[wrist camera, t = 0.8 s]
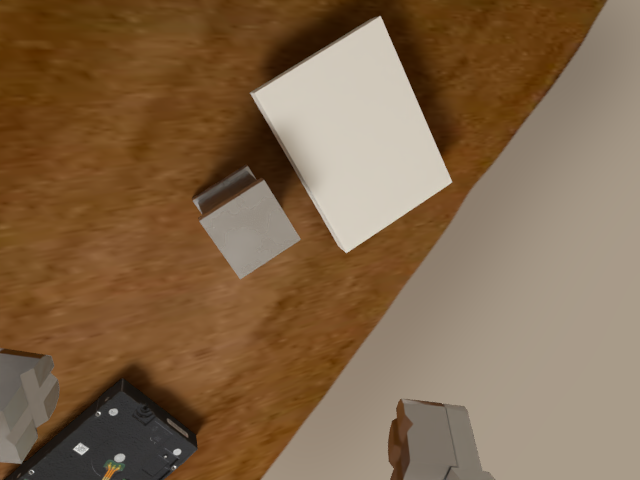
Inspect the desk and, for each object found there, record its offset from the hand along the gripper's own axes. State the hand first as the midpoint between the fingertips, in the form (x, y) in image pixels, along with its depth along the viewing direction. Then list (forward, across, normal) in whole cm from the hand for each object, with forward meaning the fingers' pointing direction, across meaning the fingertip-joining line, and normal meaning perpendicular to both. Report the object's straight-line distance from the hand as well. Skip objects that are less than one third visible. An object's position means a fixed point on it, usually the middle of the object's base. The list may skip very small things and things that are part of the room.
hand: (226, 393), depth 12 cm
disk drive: (+20, +16, +36) cm, 45 cm away
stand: (+36, -4, +7) cm, 37 cm away
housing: (+31, +5, +13) cm, 34 cm away
